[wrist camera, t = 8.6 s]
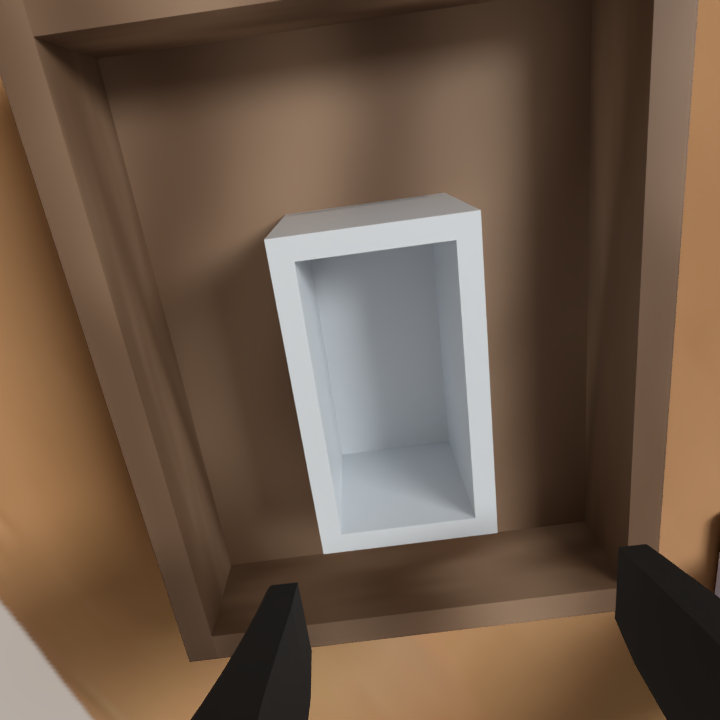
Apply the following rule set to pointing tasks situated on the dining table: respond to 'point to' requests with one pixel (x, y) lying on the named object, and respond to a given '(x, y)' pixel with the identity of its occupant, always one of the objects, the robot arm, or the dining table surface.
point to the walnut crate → (353, 187)
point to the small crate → (389, 368)
